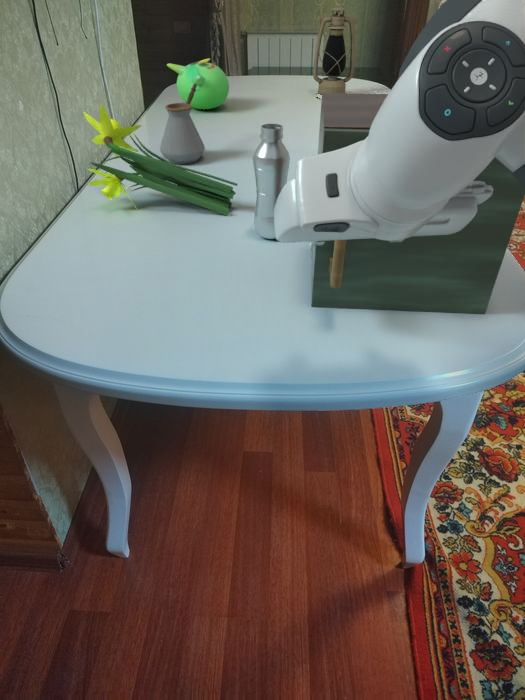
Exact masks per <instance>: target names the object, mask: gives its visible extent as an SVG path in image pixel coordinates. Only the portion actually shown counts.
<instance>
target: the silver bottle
mask: <svg viewBox="0 0 525 700" xmlns="http://www.w3.org/2000/svg"><path fill="white" fill-rule="evenodd" d="M259 138H260V139H261V142H260V143H259V144H258V146H257V147H256V148H255V150H254V152H253V156H252V164H253V170H254V178H255V187H256V202H255V203H256V204H255V212H254V218H253V225H254V230H255V232H256V234H257V235H258V236H259V237H261V238H264V239H269V240H277V239H276V236H275V227H274V207H275V204H276V201H277V198H278V196H279V194H280V192H281V190H282V188H283V187H284V185H285V184H286V183H287V182H288V176H289V171H290V163H291V162H290V161H291V157H290V152H289V150H288V148H287V147H286V145H285V144H284V143H283V139H284V126H283V124H279V123H264V124H262V125H261V126H260V135H259Z"/></svg>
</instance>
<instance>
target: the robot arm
mask: <svg viewBox="0 0 525 700" xmlns="http://www.w3.org/2000/svg"><path fill="white" fill-rule="evenodd" d="M387 94H388V96H387V97H386V99H385V100H384V102H383V104H382V105H381V107H380V109H379V111H378V113H377V115H376V117H375V118H374V120H373V122H372V125H371V128H370V130H369V135H368V137H367V138H366V139H365V140H363V141H359V142H357V143H354V144H352V145H350V146H347V147H344V148H341V149H338V150H335V151H331V152H327V153H322V154H318V153H317V154H314V155H313V154H312V155H308V156H304V157H301V158H299V159H298V160H297V162H296V164H295V172H294V175H295V176H294V177H292V178H291V179H289V180H287V183H286V184H285V185H284V187H283V188H282V190H281V192H280V194H279V196H278V198H277V201H276V204H275V207H274V227H275V236H276V239H275V240H276V241H278V242H280V243H284V244H285V243H286V244H289V243H305V242H306V243H308V242H309V247H312V246H323V244H324V243H325V241H329V240H349V239H370V238H376V239H380V240H386V241H389V242H402V241H403V240H404V239H405V238H409V237H412V236H432V235H449V234H453V233H456V232H459V231H460V230H462V229H463V228H464V227H465V226H466V225H467V224H468V223H469V222H470V221H471V220H472V219H473V218H474V216H475V215H476V213H477V205H478V204H481V203H483V202H484V201H486V200H487V199H488V198H489V197H491V196H492V194H493V187H492V186H489V185H486V183H485V182H482V181H473V180H474V179H475V178H476V177H477V176H478V175H479V174H480V173H481V172H482V171H483V170H484V169H485V168H486V167H487V166H488V165H489V163H490V162H491V161H492V160H493V159H494V158H497V159H498V160H499V161H500V162H501V163H502V164H504V165H505V166H506V167H507V168H508V169H510V170H511V171H512V172H513V174H512V175H513V176H514V177H515V178H516V179H517V180H518V181H519V182H520V183H521V184H522V185H523V186H524V187H525V0H445V1H444V2H443V3H442V4H441V5H440V7H439V8H438V9H437V10H436V11H435V12H434V14H433V15H432V16H431V17H430V19H429V20H428V22H426V24H425V25H424V27H423V28H422V29H421V31H420V32H419V34H418V36H417V37H416V38H415V40H414V42H413V43H412V46H411V47H410V49H409V51H408V53H407V55H406V56H405V59H404V60H403V62H402V64H401V66H400V68H399V72H398V76H397V81H396V82H395V84H394V85H393V86H392V88H391V89H390V90H389V92H388V93H387Z"/></svg>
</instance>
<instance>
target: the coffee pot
mask: <svg viewBox="0 0 525 700" xmlns="http://www.w3.org/2000/svg"><path fill="white" fill-rule="evenodd" d="M196 86H199V85H197V84H196V83H195V84H194V85H193V86H192V88H191V92H190V93H189V96H188V99H187V103H185V102H174V103H169V104H167V105H165V107H164V108H165V110H167V114H168V118H167V121H166V125H165V128H164V131H163V136H162V139H161V143H160V145H159V151H160V153H161V155H162V156H163V157H164V158H165V160H168V162H170V163H172V164H175V165H185V164H186V165H187V164H188V165H189V164H192V163H195V162H197V161H198V160H199V158H201V157H202V155H203V154H204V152H205V150H206V147H205V143H204V142H203V140H202V137H201V135H200V134H199V131H198V129H197V128H196V125H195V123H194V121H193V119H192V117H191V115H190V114H191V111H192V109H193V107H192V106H191V105H190V103H191V101H192V99H193V97H194V92H195V91H199V90H200V89H199V90H196V89H195V88H196ZM199 87H200V86H199Z"/></svg>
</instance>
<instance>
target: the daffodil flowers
mask: <svg viewBox="0 0 525 700" xmlns="http://www.w3.org/2000/svg"><path fill="white" fill-rule="evenodd" d="M99 108H100V109H99V117H98V119H99V120H98V121H97V120H96V119H95V118H94V117H92V116H91V115H90V114H88V113H87V112H85V111H82V113H83V115H84V117H85V119H86V121H87V122H88V123H89V124H90V126H91V127H93V128H94V129H95V130H96V131H97V132H98V133H99V134H97V135H95V136H94V137H93V138H92V140H91V142H92V143H95V144H96V145H99V146H102V145H103V146H104V145H105V146H106V147H107V148H108V149H109V151H110V153H111V152H112V153H113V155H114V157H110V158H108V159H106V160H104V161H101V163H106V162H109V161H112V160H117V159H121V160H122V161H123V162H125V163H127V164H129V165H128V166H129V167H130V168H131V170H133V171H134V172H126V171H124V170H120V169H118V168H115V167H111V166H108V165H104V164H101V163H97V162H93V161H90V162H89V164H91V165H93V166H94V167H96V168H98V169H100V170H98V169H95V168H86V167H85V168H84V169H86V171H90V172H91V173H94V174H96V175H97V176H100V177H102V178H101V179H99V178H98V179H94V180H91V181H90V182H88V183H87V185H88V186H99V187H100V186H102V187H103V186H105V187H104V188H103V189H101V190H100V193H101V194H102V195H103V196H104V197H106V199H108V200H113V199H114V198H116V200H117V199H119V197H120V196H121V194H122V193H123V194H124V195H125V197H126V198H128V199H129V200H130V201H131V202H133V201H132V199H131V197H130V196H129V195H128V193H127V192H126V190H125V189H127V190H129V191H131V192H134V191H136V190H140V189H146V188H147V189H151V190H154V191H156V192H159V193H162V194H165V195H168V196H171V197H173V198H176V199H179V200H181V201H185V202H187V203H190V204H194V205H195V206H199V207H202V208H205V209H207V210H210V211H213V212H216V213H219V214H222V215H224V216H229V213H230V208H231V206H232V204H233V202H232V201H231V200H233V199H234V196H235V195H236V194H237V192H235V190H234V187H233V186H236V187H238V185H239V184H238V182H237V183H236V182H234V181H231V180H228V179H225V178H223V177H218V176H215V175H212V174H208V173H206V172H201V171H198V170H195V169H191V168H188V167H184V166H182V165H179V164H175V163H172V162H170V161H169V160H168V159H166V158H165V159H164V158H163V157H161V156H159V155H158V154H156V153H155V152H154V151H153V152H152V151H151V150H150V149H149V148H147V147H146V146H145V145H144V144H143V143H142V142H141V141H140V139H139V138H138V136H137V135H136V133H134V132H135V131H137V130H138V129H140V128H141V127H142V125H140V124H135V125H131V126H123V127H121V124H120V122H119V121H118V120H115V118H110V116H109V114H108V112H107V109H106V108H105V106H104V104H103V103H102V104H100V107H99ZM131 134H133V135H134V137H135V138H136V140H137V142H138V143H137V142H136V140H135V139H134V138H133V137H132V136H131ZM127 136H129V138H130V139H131V141H132V142H133V143H134V145H135V146H136V147H137V148H138V149H137V148H134V147H133V146H132V145H131V144H129V143H128V142H127V141H125V140H124V138H125V137H127ZM139 152H141V153H142V154H141V153H139ZM101 170H102V171H101ZM103 171H104V172H103ZM124 180H126V181H129V182H131V183H134V184H132V185H131V186H129V187H128V186H127V185H126V184H124V183H123V181H124ZM223 182H224V183H223ZM226 183H227V184H226ZM228 184H230V185H228ZM231 185H233V186H231ZM137 186H139V187H137ZM133 187H137V188H135V189H131V188H133ZM133 205H134V208H135V209H136V210H138V208H137V207H136V205H135V204H133Z"/></svg>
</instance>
